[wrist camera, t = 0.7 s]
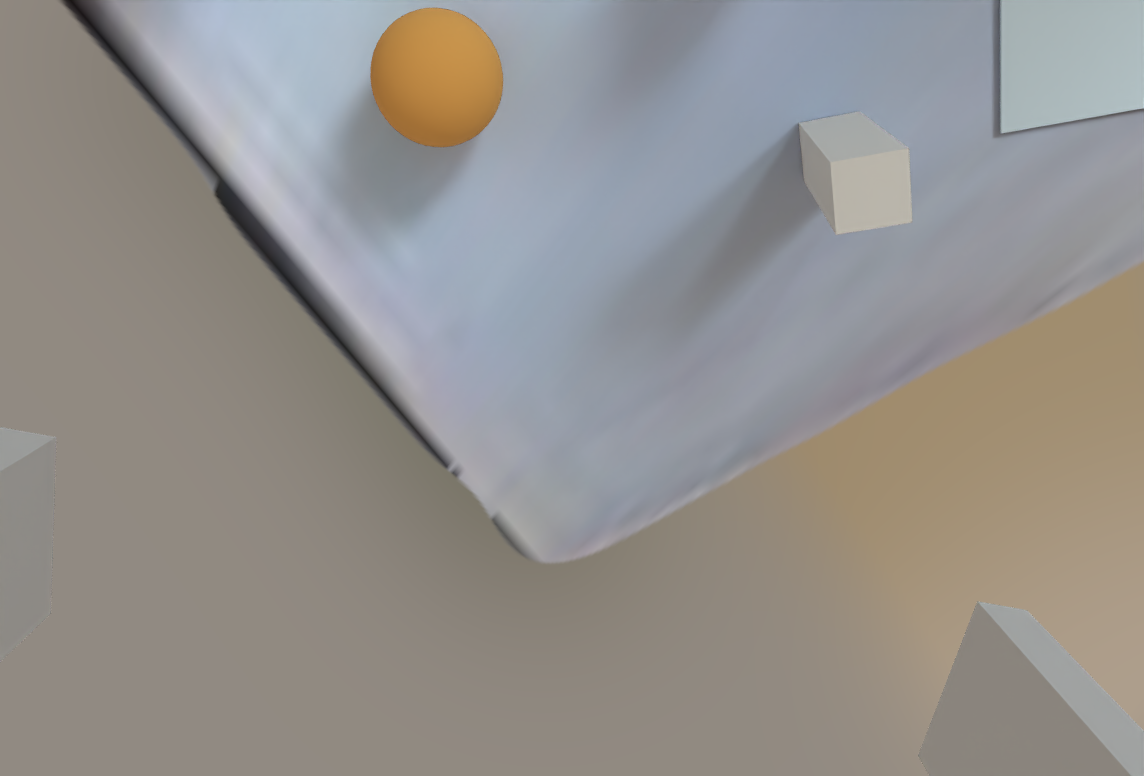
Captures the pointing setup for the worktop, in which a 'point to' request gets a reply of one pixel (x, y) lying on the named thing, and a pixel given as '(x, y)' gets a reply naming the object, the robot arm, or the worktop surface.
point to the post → (856, 172)
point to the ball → (436, 77)
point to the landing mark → (1069, 60)
